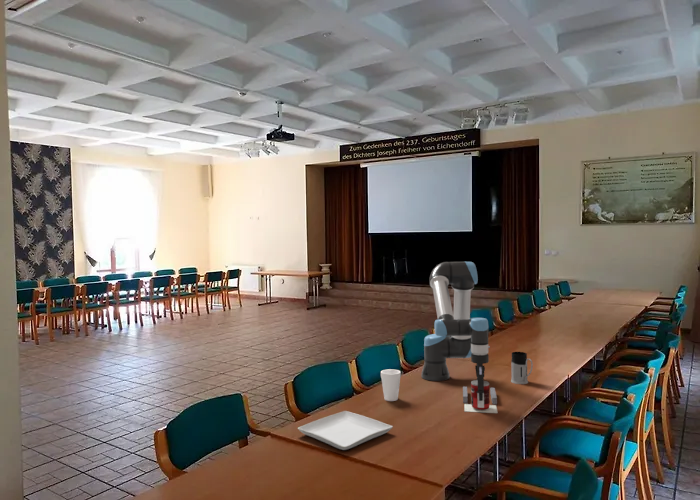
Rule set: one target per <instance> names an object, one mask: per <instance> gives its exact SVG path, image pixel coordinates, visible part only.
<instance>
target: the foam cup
mask: <svg viewBox="0 0 700 500" xmlns="http://www.w3.org/2000/svg"><path fill="white" fill-rule="evenodd" d="M401 377H402V374H401V370H399V369H391V368H389V369H383V370H381V371H380V378H381V385H382V392H383V397H384V401H387V402H394V401H398V399H399V392H400V384H401V383H400V382H401Z"/></svg>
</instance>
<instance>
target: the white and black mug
mask: <svg viewBox="0 0 700 500" xmlns="http://www.w3.org/2000/svg"><path fill="white" fill-rule="evenodd" d="M527 354H528V353H526V352H524V351H512V352H511V380H510V382H511V383H512V384H515V385H526V384H529V381H528V376H530V375H531V373H532V371H533V365H534V364H533V361H532V359H531V358H528V355H527ZM528 360H529V361H530V364H531V365H530V371H529V372H528Z"/></svg>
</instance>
